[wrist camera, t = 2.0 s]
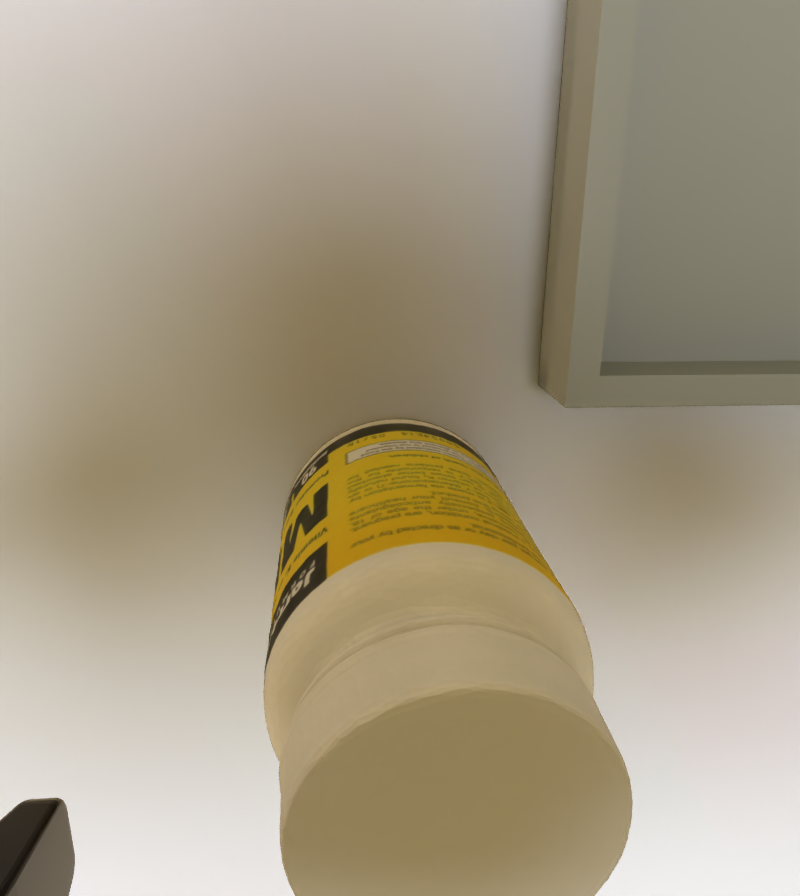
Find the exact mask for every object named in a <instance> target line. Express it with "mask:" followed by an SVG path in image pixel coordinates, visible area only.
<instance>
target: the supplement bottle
mask: <svg viewBox="0 0 800 896" xmlns="http://www.w3.org/2000/svg"><path fill="white" fill-rule="evenodd" d="M593 687H594V679H593V662H592V655H591V650H590V645H589V642H588V638H587V635H586V632H585V629H584V626H583V624H582V621H581V619H580V617H579V614H578V613H577V611H576V609H575V607H574V606H573V604H572V602H571V601H570V599H569V597H568V596H567V595H566V593H565V592H564V590H563V588H562V587H561V585H560V583H559V582H558V580H557V579H556V577H555V575H554V574H553V572H552V570H551V569H550V567H549V565H548V564H547V562H546V561H545V559H544V557H543V556H542V554H541V552H540V551H539V549H538V548H537V546H536V545H535V543H534V541H533V540H532V538H531V536H530V534H529V533H528V531H527V530H526V528H525V526H524V525H523V523H522V521H521V520H520V518H519V516H518V514H517V513H516V511H515V509H514V508H513V506H512V504H511V502H510V501H509V499H508V497H507V496H506V494H505V492H504V490H503V489H502V487H501V485H500V484H499V482H498V480H497V478H496V477H495V475H494V473H493V472H492V470H491V469H490V467H489V466H488V465H487V463H486V462H485V460H484V459H483V458H482V457H481V455H480V454H479V453H478V452H477V451H476V450H475V449H474V448H473V447H472V446H470V445H469V444H468V443H467V442H466V441H464V440H463V439H462V438H460V437H459V436H457V435H455V434H454V433H452V432H450V431H448V430H446V429H444V428H441V427H439V426H436V425H432V424H429V423H425V422H421V421H416V420H406V419H393V420H381V421H376V422H370V423H367V424H363V425H360V426H357V427H354V428H352V429H350V430H348V431H346V432H343V433H341V434H339V435H338V436H336V437H335V438H333V439H332V440H330V441H328V442H327V443H326V444H325V445H323V446H322V447H321V448H320V449H319V450H318V451H317V452H316V453H315V454H314V455H313V456H312V457H311V458H310V459H309V460H308V462H307V463H306V464H305V465H304V467H303V468H302V470H301V471H300V473H299V474H298V476H297V478H296V480H295V482H294V484H293V486H292V488H291V491H290V494H289V497H288V500H287V504H286V508H285V513H284V522H283V528H282V536H281V548H280V554H279V563H278V571H277V578H276V585H275V595H274V602H273V609H272V621H271V629H270V634H269V645H268V651H267V658H266V665H265V679H264V708H265V718H266V723H267V729H268V733H269V736H270V740H271V743H272V746H273V749H274V751H275V753H276V756H277V758H278V760H279V762H280V766H279V780H280V792H281V815H280V845H281V854H282V863H283V866H284V869H285V873H286V876H287V878H288V881H289V884H290V886H291V888H292V890H293V892H294V894H295V896H595V894H596V893H597V892H598V891H599V889H600V888H601V887H602V885H603V884H604V883H605V882H606V881H607V880H608V878H609V876H610V875H611V873H612V871H613V870H614V868H615V867H616V865H617V863H618V861H619V859H620V858H621V856H622V853H623V850H624V848H625V845H626V842H627V839H628V833H629V828H630V824H631V817H632V792H631V785H630V779H629V776H628V773H627V769H626V766H625V763H624V760H623V758H622V756H621V754H620V752H619V750H618V748H617V746H616V744H615V741H614V739H613V737H612V735H611V733H610V731H609V729H608V727H607V725H606V723H605V721H604V719H603V717H602V715H601V713H600V711H599V709H598V707H597V705H596V703H595V701H594V698H593Z"/></svg>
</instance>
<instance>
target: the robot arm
mask: <svg viewBox="0 0 800 896" xmlns="http://www.w3.org/2000/svg"><path fill="white" fill-rule="evenodd" d="M74 866H75V854H74V848H73V842H72V836H71V830H70V824H69V818H68V812H67V807H66V805H65V803H64V801H63V800H62V799H59V798H45V799H29V800H26V801H23V802H21V803H20V804H18V805H17V806H16V807H15V808H14V809H12V810H11V811H10V812H9V813H8V814H7V815H6V816H5V817H3V818H2V819H1V820H0V896H69V892H70V888H71V884H72V879H73V874H74Z"/></svg>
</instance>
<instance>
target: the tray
mask: <svg viewBox="0 0 800 896" xmlns="http://www.w3.org/2000/svg"><path fill="white" fill-rule="evenodd" d="M538 385H539V386H540V387H541V388H543V389H544V390H545V391H546V392H547V393H549V394H550V395H551V396H552V397H553V398H554V399H556V400H557V401H558V402H559V403H560V404H561V405H563V406H564V407H565V408H582V407H658V406H735V405H800V0H568V7H567V19H566V32H565V45H564V58H563V71H562V83H561V96H560V109H559V122H558V135H557V148H556V160H555V173H554V186H553V199H552V212H551V225H550V237H549V250H548V263H547V276H546V289H545V301H544V314H543V327H542V340H541V353H540V366H539V378H538Z"/></svg>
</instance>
